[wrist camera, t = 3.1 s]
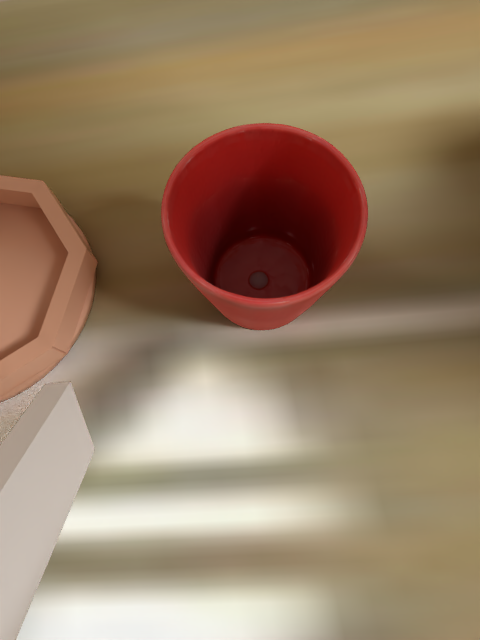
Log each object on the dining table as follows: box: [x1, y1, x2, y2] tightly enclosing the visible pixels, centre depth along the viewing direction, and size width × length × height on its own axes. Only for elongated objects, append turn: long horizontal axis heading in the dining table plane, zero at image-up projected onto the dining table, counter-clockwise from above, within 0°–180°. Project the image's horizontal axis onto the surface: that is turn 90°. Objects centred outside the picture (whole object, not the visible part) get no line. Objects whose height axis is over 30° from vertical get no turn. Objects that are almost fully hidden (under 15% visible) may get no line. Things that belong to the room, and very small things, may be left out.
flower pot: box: [161, 123, 368, 330], centre depth 23 cm, size 11×11×10 cm
